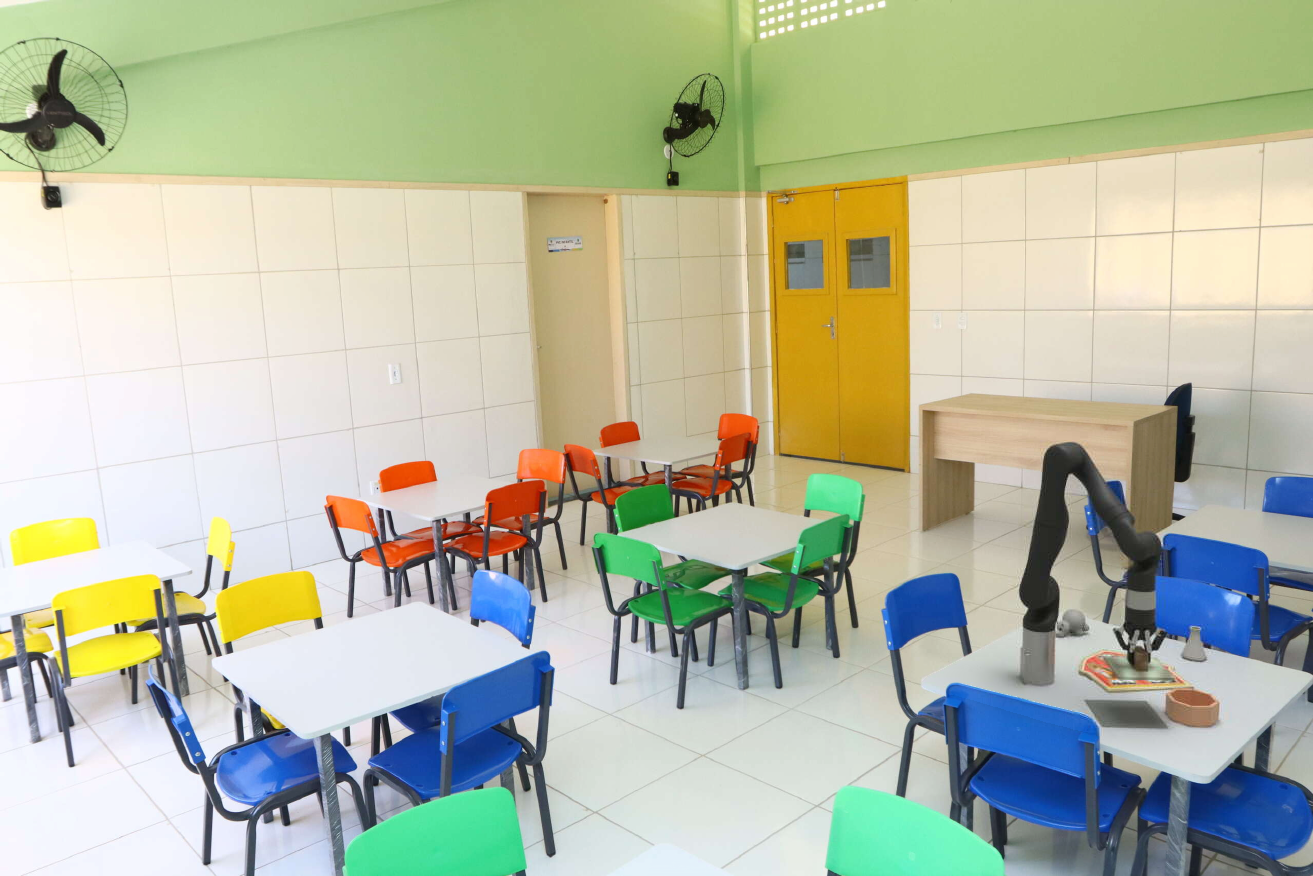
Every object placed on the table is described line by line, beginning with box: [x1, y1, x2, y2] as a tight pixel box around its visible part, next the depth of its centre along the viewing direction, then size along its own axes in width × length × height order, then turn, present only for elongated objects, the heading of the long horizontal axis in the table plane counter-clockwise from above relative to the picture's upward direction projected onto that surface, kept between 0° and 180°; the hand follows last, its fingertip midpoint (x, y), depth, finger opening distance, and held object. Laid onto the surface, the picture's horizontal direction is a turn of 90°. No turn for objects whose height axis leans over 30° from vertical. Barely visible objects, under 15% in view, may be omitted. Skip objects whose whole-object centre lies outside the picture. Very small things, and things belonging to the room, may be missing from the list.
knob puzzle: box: [1078, 649, 1195, 694], centre depth 290 cm, size 29×30×4 cm
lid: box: [1104, 645, 1175, 681], centre depth 259 cm, size 14×14×6 cm
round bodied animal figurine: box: [1055, 608, 1090, 638], centre depth 321 cm, size 7×12×8 cm, turn 106°
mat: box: [1083, 699, 1169, 730], centre depth 262 cm, size 17×17×1 cm
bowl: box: [1164, 688, 1220, 728], centre depth 258 cm, size 12×12×6 cm
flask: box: [1180, 625, 1208, 662], centre depth 297 cm, size 7×7×10 cm
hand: (1138, 663), depth 259 cm, fingers closed on lid, 3 cm apart
